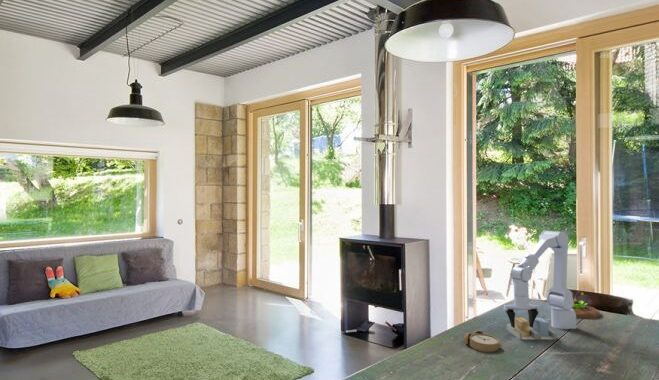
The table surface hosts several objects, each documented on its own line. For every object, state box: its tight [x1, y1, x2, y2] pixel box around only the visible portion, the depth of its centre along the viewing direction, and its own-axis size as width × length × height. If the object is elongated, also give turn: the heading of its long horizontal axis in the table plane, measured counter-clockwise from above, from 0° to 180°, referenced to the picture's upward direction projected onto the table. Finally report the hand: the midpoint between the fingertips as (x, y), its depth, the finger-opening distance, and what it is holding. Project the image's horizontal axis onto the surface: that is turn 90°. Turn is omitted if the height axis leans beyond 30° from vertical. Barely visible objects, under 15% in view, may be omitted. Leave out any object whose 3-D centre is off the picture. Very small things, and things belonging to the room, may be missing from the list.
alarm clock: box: [462, 330, 503, 353], centre depth 173 cm, size 11×5×15 cm
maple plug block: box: [515, 317, 530, 337], centre depth 184 cm, size 4×7×6 cm, turn 178°
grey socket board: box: [506, 323, 558, 340], centre depth 184 cm, size 15×14×3 cm
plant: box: [571, 291, 601, 320], centre depth 218 cm, size 20×20×11 cm
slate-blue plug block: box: [533, 317, 550, 337], centre depth 183 cm, size 4×7×6 cm, turn 178°
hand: (521, 326), depth 183 cm, fingers open, 7 cm apart
